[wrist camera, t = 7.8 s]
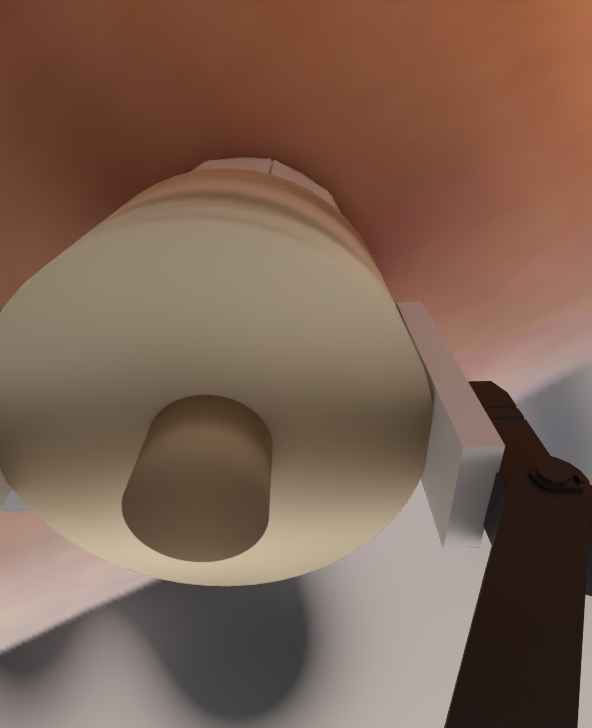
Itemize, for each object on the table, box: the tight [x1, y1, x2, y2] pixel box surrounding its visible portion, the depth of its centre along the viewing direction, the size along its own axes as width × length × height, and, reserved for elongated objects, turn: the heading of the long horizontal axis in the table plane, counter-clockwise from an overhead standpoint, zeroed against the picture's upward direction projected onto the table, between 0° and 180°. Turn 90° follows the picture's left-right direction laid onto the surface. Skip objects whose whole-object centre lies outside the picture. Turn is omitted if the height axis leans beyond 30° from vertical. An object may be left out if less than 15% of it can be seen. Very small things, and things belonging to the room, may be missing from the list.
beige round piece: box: [0, 168, 433, 586], centre depth 13 cm, size 10×10×8 cm
